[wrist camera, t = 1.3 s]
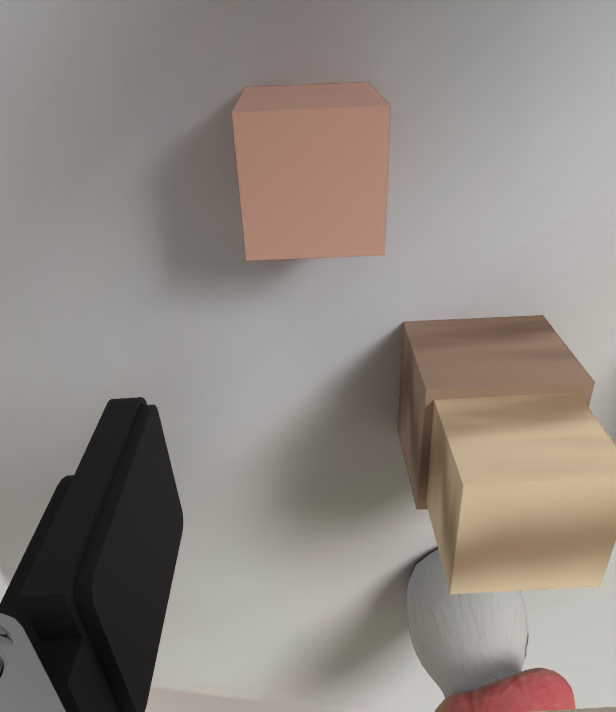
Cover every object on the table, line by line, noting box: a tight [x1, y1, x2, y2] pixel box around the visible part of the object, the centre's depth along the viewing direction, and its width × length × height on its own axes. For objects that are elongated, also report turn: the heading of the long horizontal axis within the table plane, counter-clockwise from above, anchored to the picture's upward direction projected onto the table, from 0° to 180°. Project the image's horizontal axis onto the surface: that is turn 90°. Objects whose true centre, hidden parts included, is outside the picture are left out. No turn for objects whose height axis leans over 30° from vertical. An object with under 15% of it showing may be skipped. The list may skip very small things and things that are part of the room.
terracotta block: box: [232, 82, 390, 261], centre depth 22 cm, size 5×5×6 cm
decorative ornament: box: [406, 549, 575, 712], centre depth 33 cm, size 9×7×15 cm
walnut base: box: [398, 315, 595, 509], centre depth 29 cm, size 7×7×6 cm
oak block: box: [426, 392, 616, 594], centre depth 24 cm, size 6×6×5 cm
